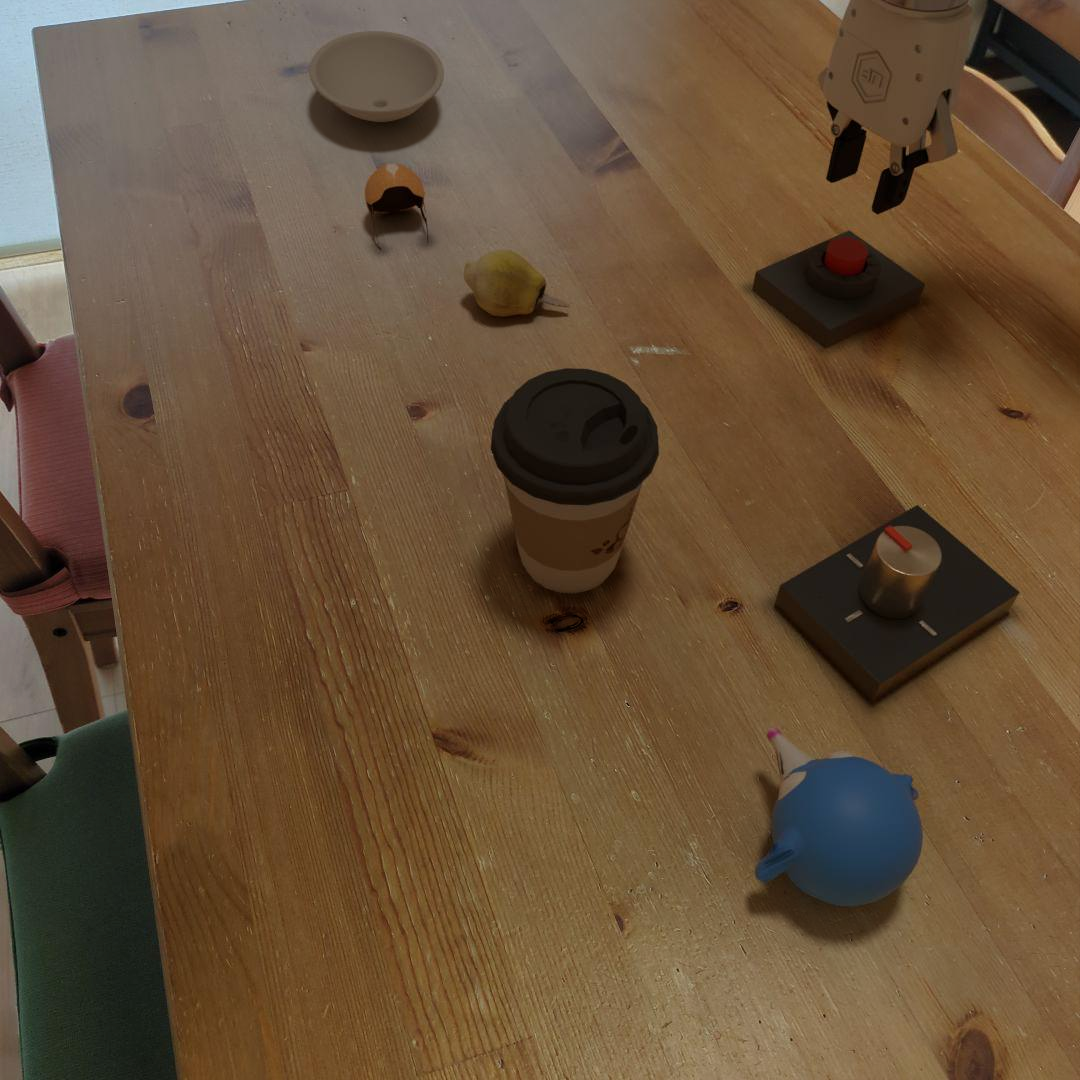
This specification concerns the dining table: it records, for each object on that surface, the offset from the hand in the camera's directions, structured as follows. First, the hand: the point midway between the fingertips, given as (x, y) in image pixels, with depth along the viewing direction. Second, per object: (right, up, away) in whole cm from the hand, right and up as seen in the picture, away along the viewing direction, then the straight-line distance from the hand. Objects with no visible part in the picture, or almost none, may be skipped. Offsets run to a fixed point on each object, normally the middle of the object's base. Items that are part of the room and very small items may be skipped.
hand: (863, 190), depth 96 cm
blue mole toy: (-11, -49, -26) cm, 56 cm away
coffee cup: (-26, -32, -12) cm, 42 cm away
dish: (-46, +18, +29) cm, 57 cm away
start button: (0, -5, +6) cm, 8 cm away
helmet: (-42, +1, +15) cm, 45 cm away
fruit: (-30, -9, +7) cm, 32 cm away
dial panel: (-2, -35, -14) cm, 38 cm away
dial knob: (-3, -34, -17) cm, 38 cm away
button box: (0, -7, +9) cm, 11 cm away
